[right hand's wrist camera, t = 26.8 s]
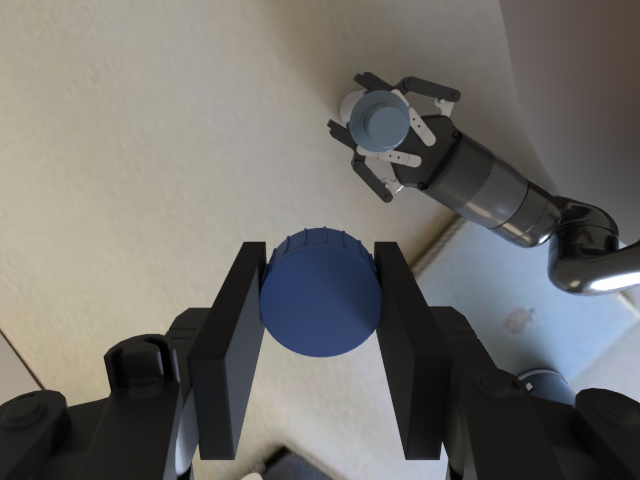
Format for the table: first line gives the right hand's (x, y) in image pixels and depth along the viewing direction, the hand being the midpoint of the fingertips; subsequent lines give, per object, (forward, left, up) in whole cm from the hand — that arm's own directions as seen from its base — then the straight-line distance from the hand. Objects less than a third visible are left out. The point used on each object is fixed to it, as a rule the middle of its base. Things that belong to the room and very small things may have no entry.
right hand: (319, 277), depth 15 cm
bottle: (-3, +5, -38) cm, 39 cm away
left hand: (-5, +3, -32) cm, 33 cm away
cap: (0, 0, +2) cm, 2 cm away
